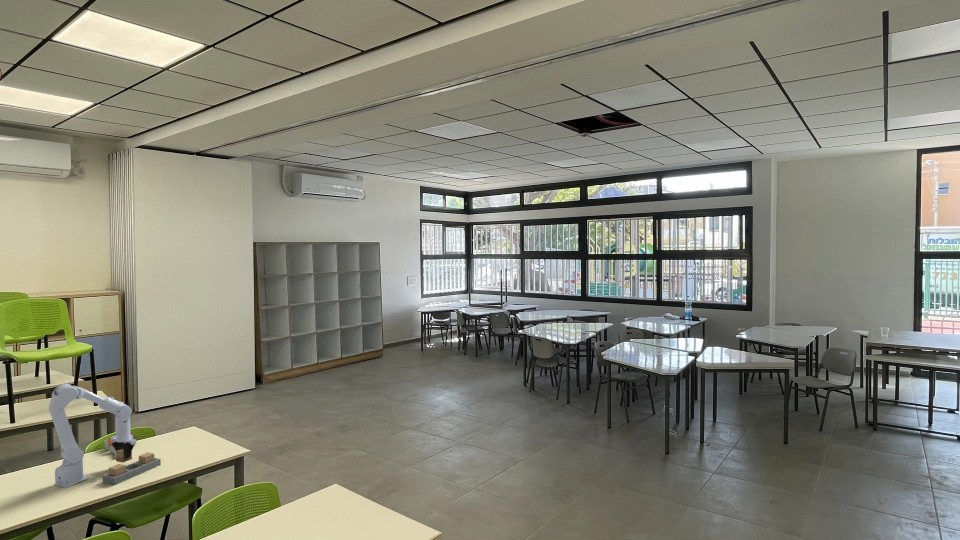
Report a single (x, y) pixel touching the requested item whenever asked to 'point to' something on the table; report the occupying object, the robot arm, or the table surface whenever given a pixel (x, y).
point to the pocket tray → (131, 469)
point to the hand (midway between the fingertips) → (123, 457)
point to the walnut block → (122, 456)
